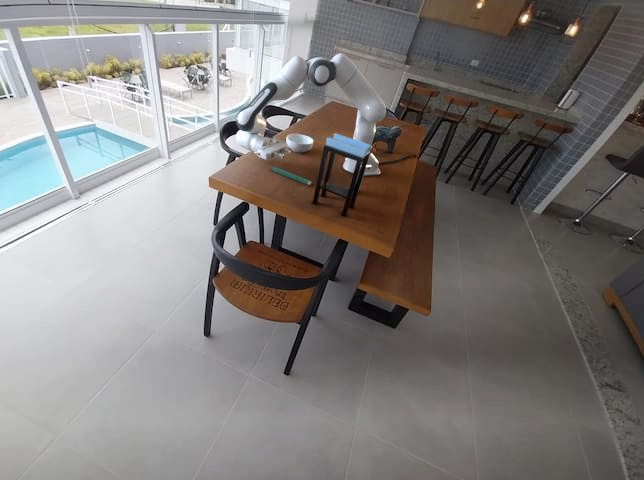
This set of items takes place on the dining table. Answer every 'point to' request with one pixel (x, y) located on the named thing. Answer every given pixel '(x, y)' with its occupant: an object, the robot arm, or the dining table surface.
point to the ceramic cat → (387, 135)
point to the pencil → (291, 176)
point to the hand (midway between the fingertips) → (286, 154)
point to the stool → (336, 188)
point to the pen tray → (349, 145)
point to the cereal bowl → (299, 142)
